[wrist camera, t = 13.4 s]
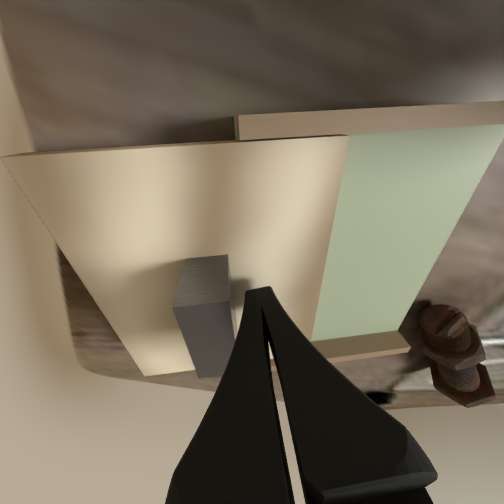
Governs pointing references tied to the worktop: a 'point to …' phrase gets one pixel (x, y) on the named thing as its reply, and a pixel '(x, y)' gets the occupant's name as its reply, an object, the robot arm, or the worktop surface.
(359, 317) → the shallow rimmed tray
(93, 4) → the worktop surface
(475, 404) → the bolt
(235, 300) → the lid
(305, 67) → the worktop surface
